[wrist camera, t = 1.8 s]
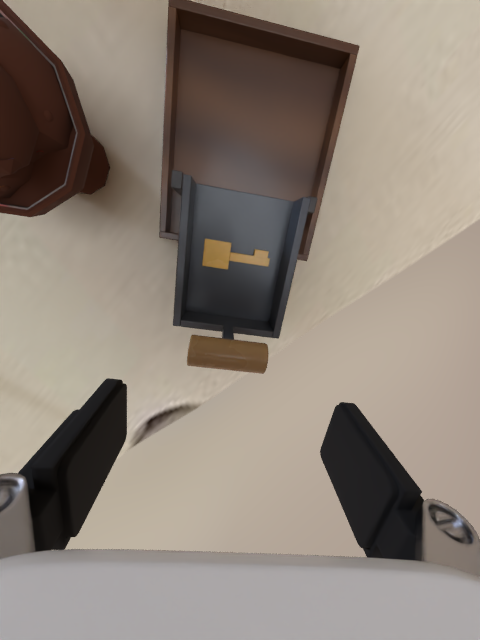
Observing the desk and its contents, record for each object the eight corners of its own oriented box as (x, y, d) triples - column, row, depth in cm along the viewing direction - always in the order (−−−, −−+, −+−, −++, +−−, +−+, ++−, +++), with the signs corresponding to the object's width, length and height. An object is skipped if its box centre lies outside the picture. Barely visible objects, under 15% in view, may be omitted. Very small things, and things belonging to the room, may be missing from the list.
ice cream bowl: (113, 78, 21) (-128, -256, 7) (150, 214, 25) (48, 186, 10) (-5, 100, 21) (-491, -185, 7) (51, 232, 25) (-184, 228, 10)
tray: (175, 23, 20) (152, -75, 14) (345, 66, 21) (393, -4, 15) (165, 237, 25) (145, 237, 19) (300, 258, 27) (321, 265, 21)
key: (202, 265, 20) (202, 265, 20) (205, 238, 19) (204, 238, 19) (265, 274, 21) (266, 275, 20) (270, 249, 20) (271, 249, 20)
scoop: (189, 183, 19) (161, 144, 11) (298, 203, 19) (348, 181, 11) (179, 320, 22) (153, 368, 14) (270, 332, 23) (293, 382, 15)
